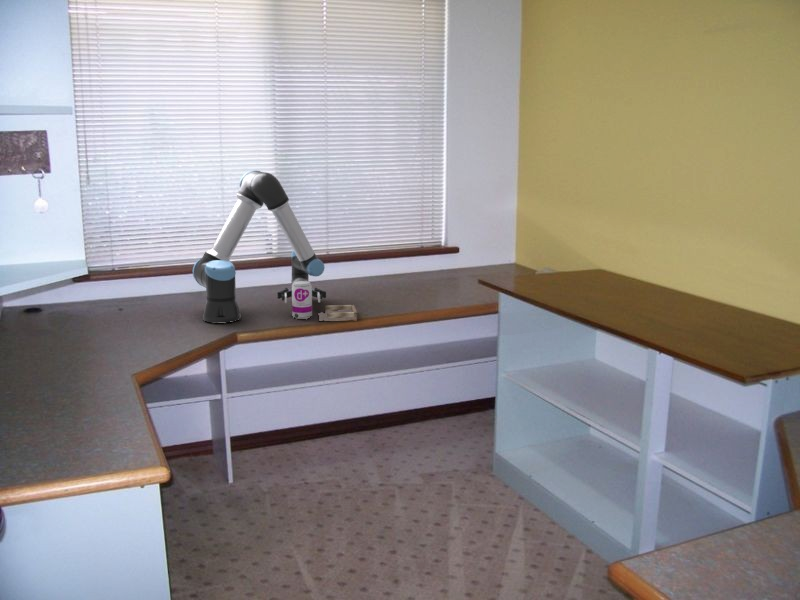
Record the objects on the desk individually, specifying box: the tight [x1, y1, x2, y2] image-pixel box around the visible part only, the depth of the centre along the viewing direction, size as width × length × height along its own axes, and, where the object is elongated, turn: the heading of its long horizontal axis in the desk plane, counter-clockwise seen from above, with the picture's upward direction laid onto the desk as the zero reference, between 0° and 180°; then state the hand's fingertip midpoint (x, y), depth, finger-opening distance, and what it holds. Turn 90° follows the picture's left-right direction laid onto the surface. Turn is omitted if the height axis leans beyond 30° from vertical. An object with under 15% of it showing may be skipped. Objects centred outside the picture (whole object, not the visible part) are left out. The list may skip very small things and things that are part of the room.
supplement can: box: [291, 281, 313, 318], centre depth 311 cm, size 8×8×15 cm
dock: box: [324, 304, 358, 318], centre depth 315 cm, size 16×15×3 cm
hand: (302, 299), depth 308 cm, fingers open, 13 cm apart
